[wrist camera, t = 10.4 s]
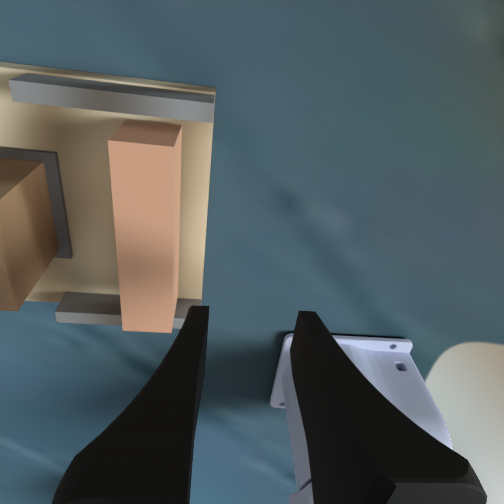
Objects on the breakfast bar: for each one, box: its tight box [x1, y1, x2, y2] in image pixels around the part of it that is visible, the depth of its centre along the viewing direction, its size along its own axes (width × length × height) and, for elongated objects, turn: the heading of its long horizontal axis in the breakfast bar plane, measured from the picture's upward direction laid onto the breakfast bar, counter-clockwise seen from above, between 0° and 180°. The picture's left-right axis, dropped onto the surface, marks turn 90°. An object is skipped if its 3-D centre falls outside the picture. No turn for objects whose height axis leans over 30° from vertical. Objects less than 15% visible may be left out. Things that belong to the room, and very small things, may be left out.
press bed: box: [0, 62, 216, 329], centre depth 18 cm, size 16×13×6 cm
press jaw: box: [108, 119, 182, 333], centre depth 19 cm, size 2×10×3 cm, turn 173°
